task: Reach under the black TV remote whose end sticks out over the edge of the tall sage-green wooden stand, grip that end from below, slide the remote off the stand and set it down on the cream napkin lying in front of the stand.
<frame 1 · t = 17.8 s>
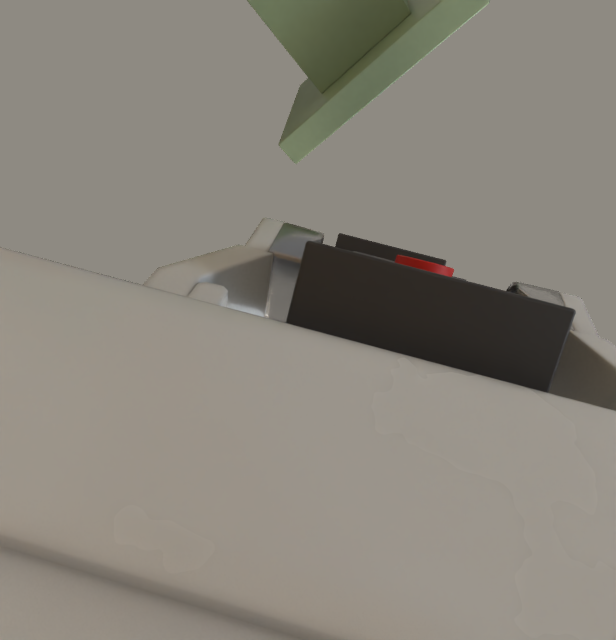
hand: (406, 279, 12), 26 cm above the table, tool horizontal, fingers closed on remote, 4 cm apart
remote: (376, 323, 18), point 29 cm above the table, tilted 118°, touching gripper
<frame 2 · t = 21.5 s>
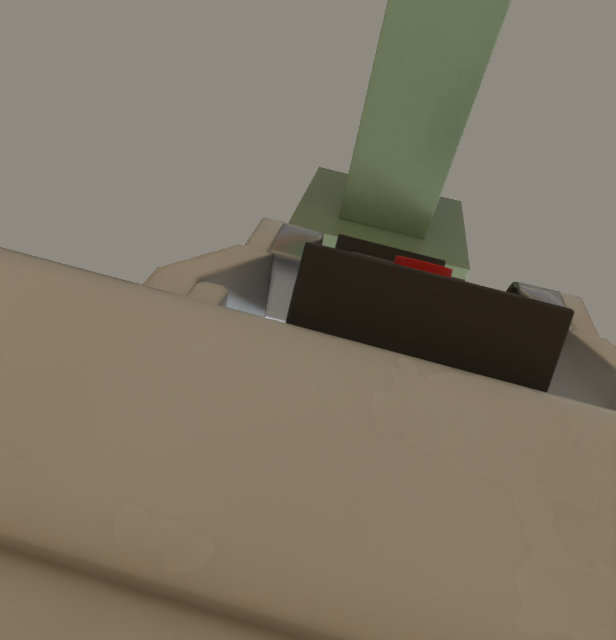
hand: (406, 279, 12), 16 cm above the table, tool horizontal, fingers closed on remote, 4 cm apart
remote: (375, 324, 18), point 21 cm above the table, tilted 150°, touching gripper
when the fingers open (7 cm above the table, at t = 24.9 s): remote drops 9 cm and tips over, resting on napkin.
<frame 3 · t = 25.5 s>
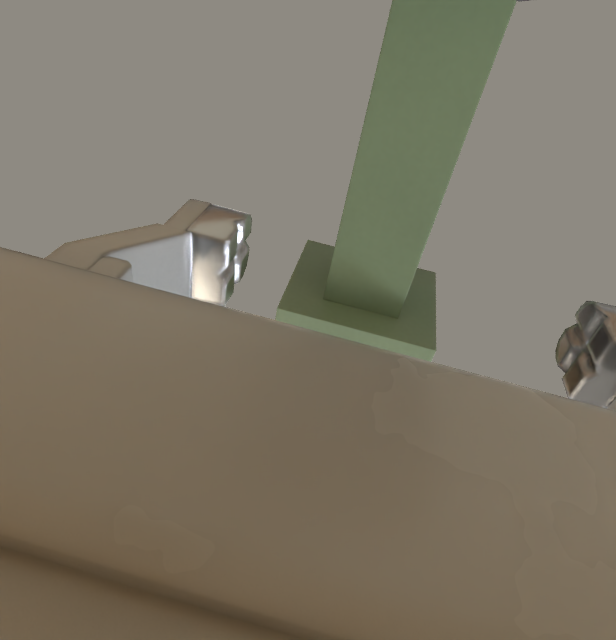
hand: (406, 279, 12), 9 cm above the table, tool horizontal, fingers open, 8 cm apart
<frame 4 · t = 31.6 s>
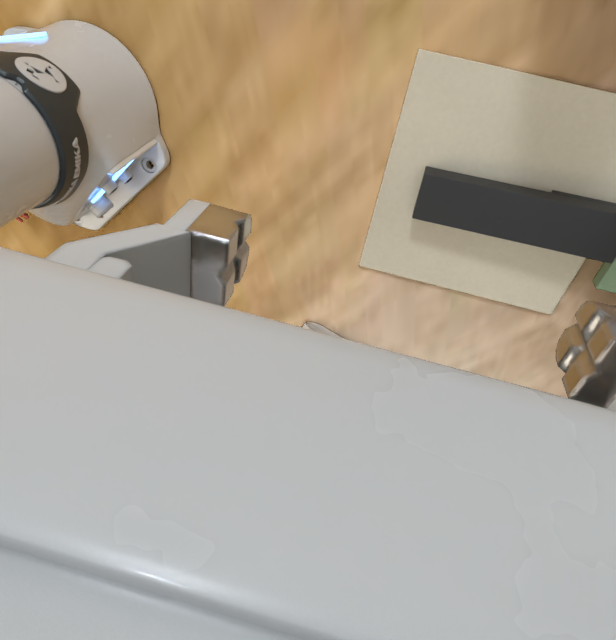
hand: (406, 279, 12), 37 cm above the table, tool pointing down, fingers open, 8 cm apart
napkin: (493, 198, 47), on the table
remote: (518, 218, 44), point 3 cm above the table, tilted 177°, touching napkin
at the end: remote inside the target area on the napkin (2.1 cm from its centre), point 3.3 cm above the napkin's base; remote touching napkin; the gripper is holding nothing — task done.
